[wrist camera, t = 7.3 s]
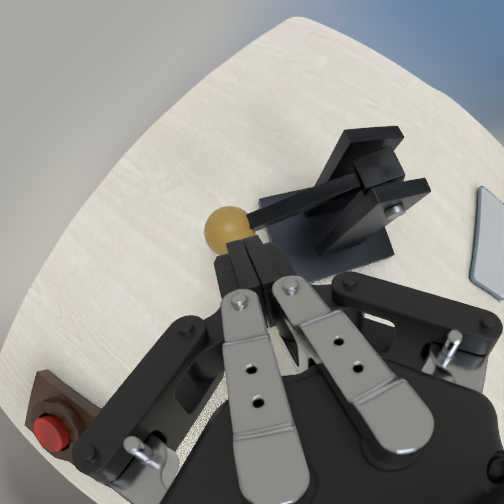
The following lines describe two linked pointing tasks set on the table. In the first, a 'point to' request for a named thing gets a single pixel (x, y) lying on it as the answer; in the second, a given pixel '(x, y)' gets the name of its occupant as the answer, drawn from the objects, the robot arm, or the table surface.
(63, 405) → the block
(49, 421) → the release button
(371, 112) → the table surface
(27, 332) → the table surface
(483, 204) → the smartphone
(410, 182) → the latch bracket
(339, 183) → the latch lever
